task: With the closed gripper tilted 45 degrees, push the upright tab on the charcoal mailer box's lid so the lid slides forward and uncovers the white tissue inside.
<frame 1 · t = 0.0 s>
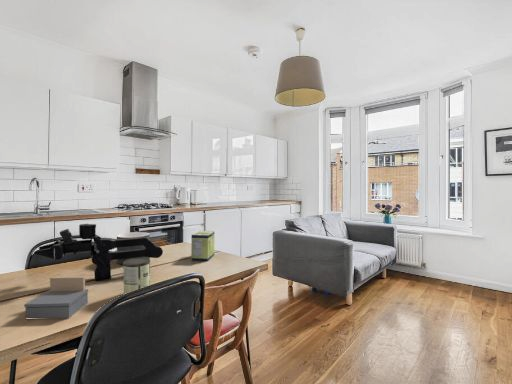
hand: (37, 250, 121), 17 cm above the table, tool horizontal, fingers open, 9 cm apart
mailer box: (58, 310, 100), on the table
coffee can: (136, 294, 115), on the table
planter: (133, 261, 164), on the table
protein box: (203, 257, 173), on the table
lid: (58, 290, 100), point 7 cm above the table, slide at 0.0 cm
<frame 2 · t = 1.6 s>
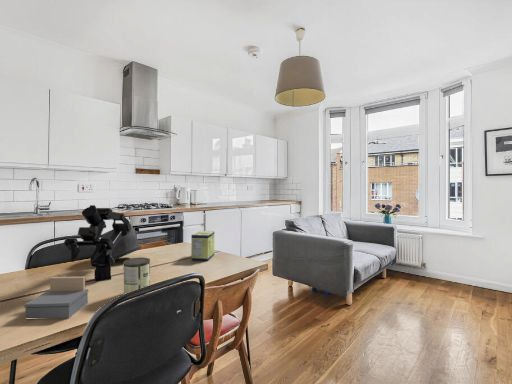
hand: (81, 261, 115), 14 cm above the table, tool tilted 45°, fingers open, 8 cm apart
planter: (126, 254, 164), point 4 cm above the table, touching arm
everything else where it was.
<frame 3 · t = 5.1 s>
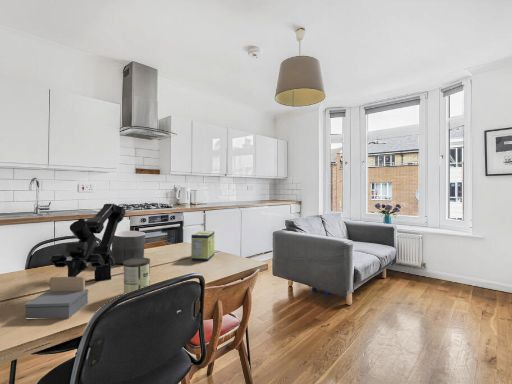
hand: (69, 280, 106), 9 cm above the table, tool tilted 45°, fingers closed, pressing on lid
planter: (127, 260, 164), on the table
lid: (58, 290, 100), point 7 cm above the table, slide at 0.0 cm, touching gripper
everything else where it was.
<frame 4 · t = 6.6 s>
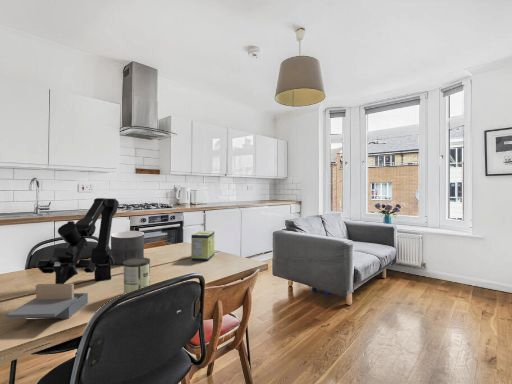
hand: (56, 287, 99), 9 cm above the table, tool tilted 45°, fingers closed, pressing on lid
lid: (44, 299, 92), point 7 cm above the table, slide at 7.5 cm, touching gripper
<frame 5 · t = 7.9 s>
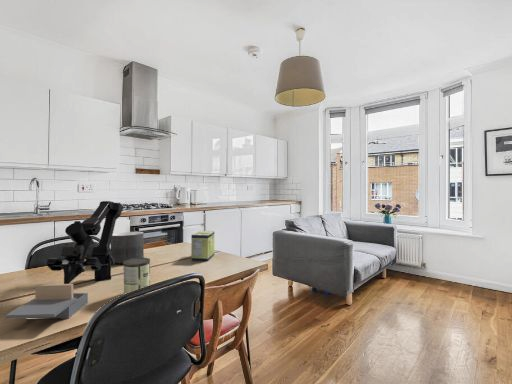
hand: (65, 284, 104), 8 cm above the table, tool tilted 45°, fingers closed
lid: (43, 299, 92), point 7 cm above the table, slide at 7.8 cm
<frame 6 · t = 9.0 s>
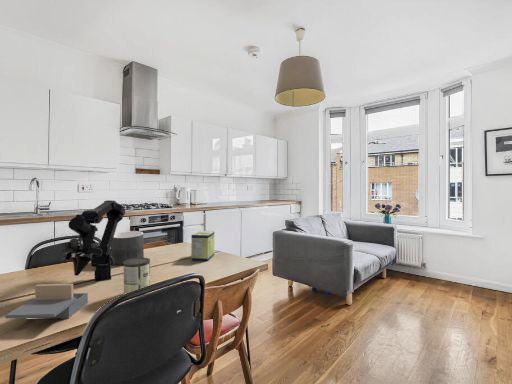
hand: (76, 275, 111), 9 cm above the table, tool tilted 30°, fingers closed
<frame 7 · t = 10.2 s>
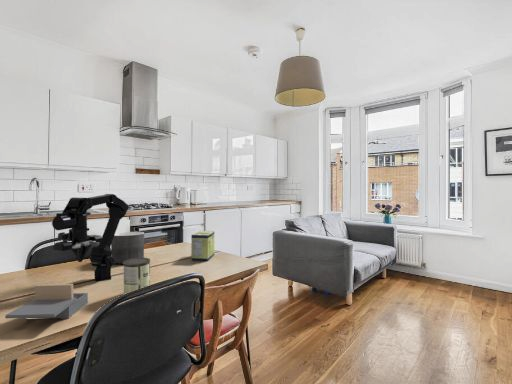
hand: (80, 261, 120), 12 cm above the table, tool pointing down, fingers closed
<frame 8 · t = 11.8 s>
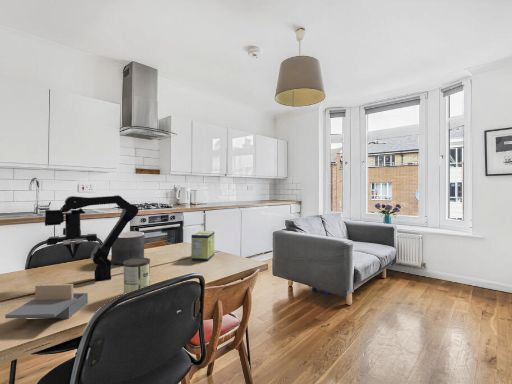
hand: (73, 257, 126), 12 cm above the table, tool pointing down, fingers closed
at the end: lid slide at 7.8 cm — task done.
